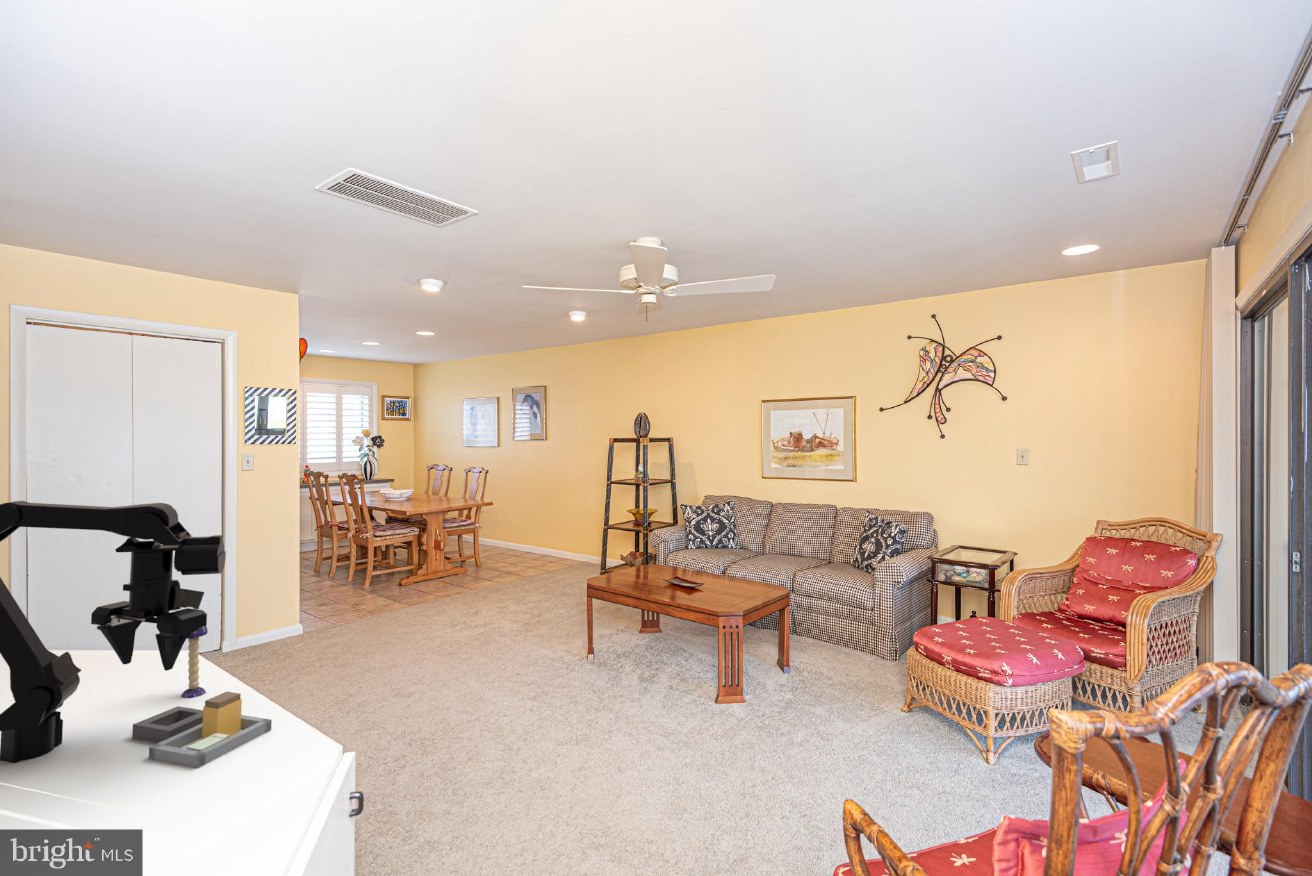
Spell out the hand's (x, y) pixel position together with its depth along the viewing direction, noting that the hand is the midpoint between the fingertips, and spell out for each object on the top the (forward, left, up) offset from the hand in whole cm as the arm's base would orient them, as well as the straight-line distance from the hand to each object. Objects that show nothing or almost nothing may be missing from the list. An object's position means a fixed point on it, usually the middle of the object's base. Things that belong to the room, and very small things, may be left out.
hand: (147, 666), depth 109 cm
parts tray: (+2, -12, -13) cm, 18 cm away
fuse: (-1, -14, -12) cm, 19 cm away
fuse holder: (+3, -2, -13) cm, 14 cm away
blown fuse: (+4, -11, -12) cm, 18 cm away
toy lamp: (+17, +10, -13) cm, 24 cm away
